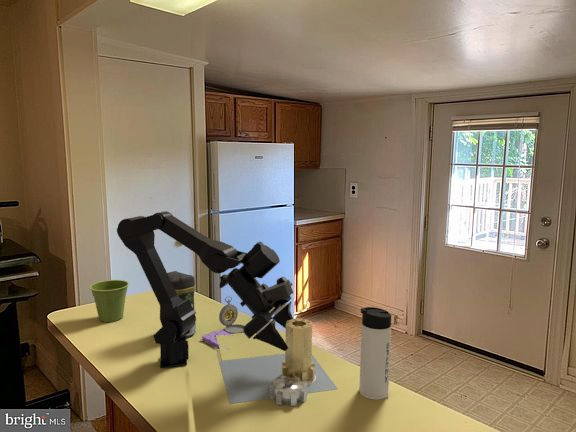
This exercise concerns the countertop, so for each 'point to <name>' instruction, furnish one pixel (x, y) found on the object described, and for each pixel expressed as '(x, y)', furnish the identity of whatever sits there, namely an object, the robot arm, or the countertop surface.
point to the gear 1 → (299, 350)
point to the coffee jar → (184, 290)
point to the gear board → (263, 377)
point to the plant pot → (110, 299)
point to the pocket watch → (230, 318)
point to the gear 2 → (288, 391)
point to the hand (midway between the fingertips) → (292, 341)
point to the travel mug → (375, 353)
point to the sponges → (214, 338)
